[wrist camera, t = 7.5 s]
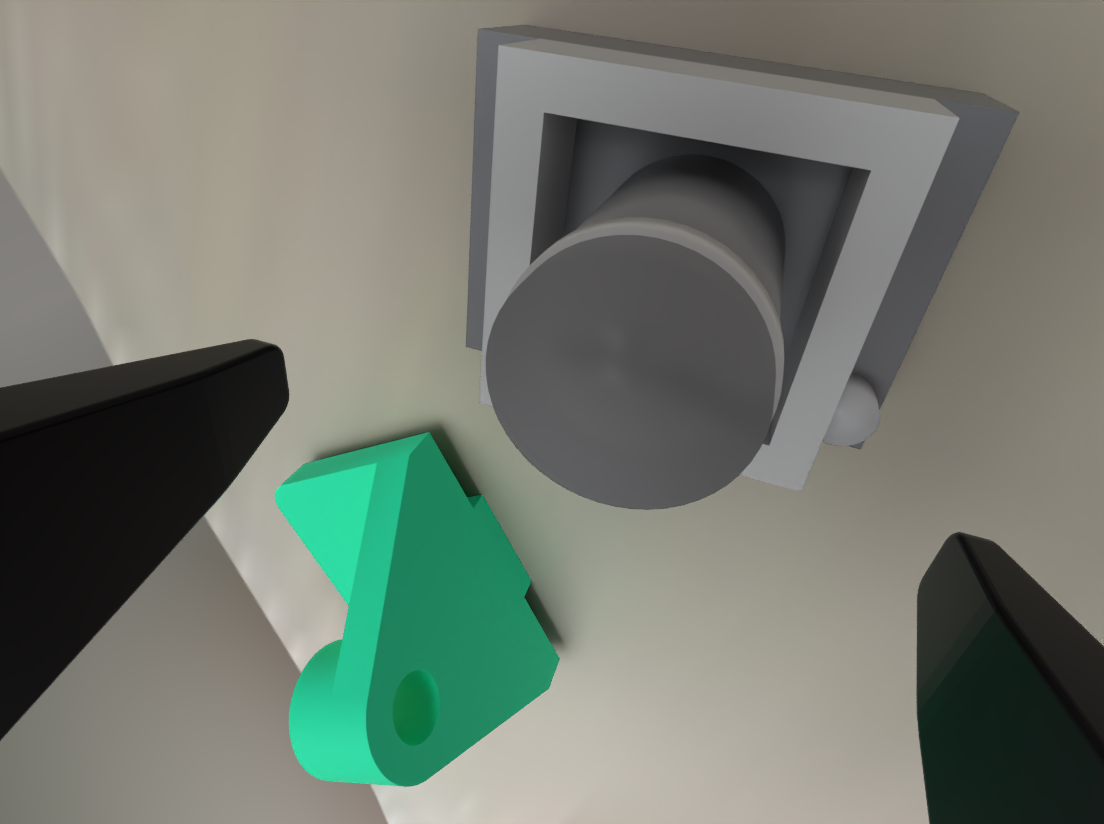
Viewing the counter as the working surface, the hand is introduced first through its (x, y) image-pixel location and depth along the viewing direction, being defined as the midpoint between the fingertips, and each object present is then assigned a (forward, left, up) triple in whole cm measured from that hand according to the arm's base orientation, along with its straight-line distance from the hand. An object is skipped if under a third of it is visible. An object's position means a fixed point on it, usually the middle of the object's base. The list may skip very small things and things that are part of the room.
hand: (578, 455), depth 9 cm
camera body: (0, 0, -12) cm, 12 cm away
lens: (0, 0, -9) cm, 9 cm away
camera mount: (+8, +16, -12) cm, 22 cm away
